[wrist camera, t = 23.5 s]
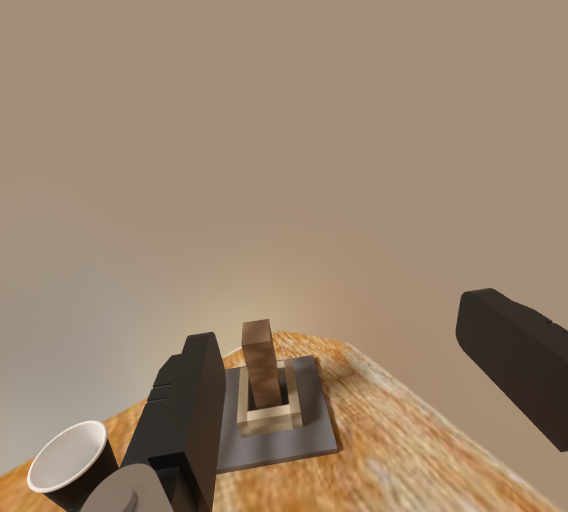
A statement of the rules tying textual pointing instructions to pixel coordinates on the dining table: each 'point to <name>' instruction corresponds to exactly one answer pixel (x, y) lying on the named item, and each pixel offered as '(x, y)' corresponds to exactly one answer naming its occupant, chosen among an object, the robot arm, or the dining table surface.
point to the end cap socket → (275, 419)
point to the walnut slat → (261, 364)
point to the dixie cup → (73, 465)
